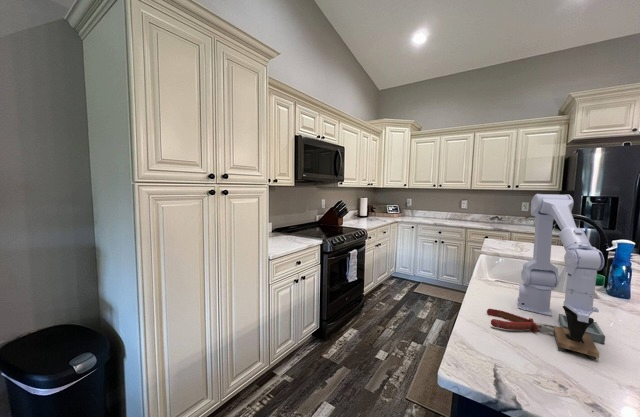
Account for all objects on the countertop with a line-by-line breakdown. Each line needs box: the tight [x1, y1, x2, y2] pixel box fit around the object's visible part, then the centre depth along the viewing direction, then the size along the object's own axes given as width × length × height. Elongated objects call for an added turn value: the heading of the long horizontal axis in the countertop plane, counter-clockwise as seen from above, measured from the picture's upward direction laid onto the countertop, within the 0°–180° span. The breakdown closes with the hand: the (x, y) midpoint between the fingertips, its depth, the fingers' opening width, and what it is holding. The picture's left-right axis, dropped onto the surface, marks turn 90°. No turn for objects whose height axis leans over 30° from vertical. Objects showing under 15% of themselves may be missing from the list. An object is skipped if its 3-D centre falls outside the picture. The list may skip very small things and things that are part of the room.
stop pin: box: [568, 330, 581, 343], centre depth 75 cm, size 3×3×8 cm
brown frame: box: [553, 325, 600, 360], centre depth 75 cm, size 8×11×2 cm
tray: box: [557, 313, 606, 345], centre depth 83 cm, size 9×10×2 cm
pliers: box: [486, 308, 555, 334], centre depth 84 cm, size 12×20×3 cm, turn 63°
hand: (574, 335), depth 75 cm, fingers closed on stop pin, 2 cm apart
